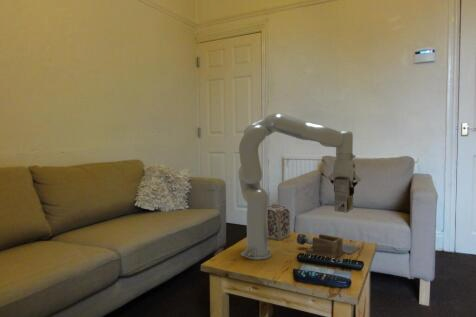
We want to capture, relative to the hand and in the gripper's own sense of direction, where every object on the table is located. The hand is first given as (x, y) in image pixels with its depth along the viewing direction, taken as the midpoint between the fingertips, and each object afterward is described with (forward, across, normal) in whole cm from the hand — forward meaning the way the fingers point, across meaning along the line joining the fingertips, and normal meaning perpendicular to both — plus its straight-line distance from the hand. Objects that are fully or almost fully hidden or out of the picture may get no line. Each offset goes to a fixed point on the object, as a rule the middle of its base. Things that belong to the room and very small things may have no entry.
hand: (343, 194), depth 166 cm
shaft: (+24, +10, +12) cm, 29 cm away
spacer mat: (+26, 0, 0) cm, 26 cm away
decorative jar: (+27, +37, +3) cm, 46 cm away
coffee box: (+8, 0, 0) cm, 8 cm away
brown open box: (+26, +3, +12) cm, 29 cm away
